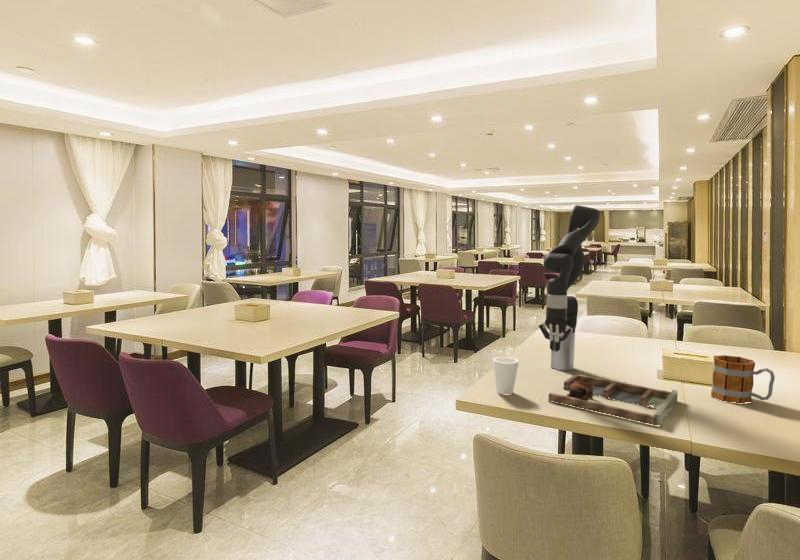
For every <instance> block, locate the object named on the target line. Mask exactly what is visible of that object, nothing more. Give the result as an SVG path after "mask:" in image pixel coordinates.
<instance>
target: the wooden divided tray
mask: <svg viewBox="0 0 800 560" xmlns="http://www.w3.org/2000/svg"><path fill="white" fill-rule="evenodd" d="M574 380H577V381H581V382H585V383H587V384H589V385H591V386H592V387H593V396H594V395H597V396H596V397H598V396H599V395H600V396H602V397H601V398H603V397H607V398H606V399H608V397H609V398H611V399H610V400H612V399H615V400H614V401H617V400H620V401H619V402H622V401H624V402H623V403H626V402H629V403H628V404H631V403H634V404H633V405H636V404H639V405H638V406H640V405H644V406H643V407H645V406H649V405H653V406H654V408H653V409H655V408H658V409H656V411H655V413H653V414H649V413H644V412H640V411H635V410H630V409H626V408H621V407H617V406H614V405H613V406H612V405H608V404H604V403H600V402H594V401H589V400H588V401H586V400H582V399H577V398H573V397H568V396H567V395H563V394H560V393H559V394H558V393H554V392H549V393H548V400H549V401H554V402H558V403H563V404H567V405H572V406H575V407H579V408H584V409H588V410H593V411H597V412H601V413H606V414H611V415H615V416H619V417H623V418H626V419H631V420H635V421H640V422H643V423H649V424H653V425H660V424H661V422H662V421H663V419H664V418H665V417H666V418H667V416H668V415H669V414H670V412H671V411H670V410H672V409H673V408H674V406H675V405H674V404H677V402H678V390H677V389H672V390H671V391H667V390H663V389H662V390H661V389H656V388H652V387H647V386H641V385H636V384H631V383H627V382H620V381H615V380H611V379H605V378H600V377H599V378H598V377H594V376H590V375H589V376H588V375H584V374H574V375H572V376H571V377H569V378H568V379H566V380H565V381H564V382H563V389H564V390H566V389H568V390H567V391H570V387H569V385H570V384H572V383H573V381H574ZM580 392H581V391H580ZM654 404H655V405H654ZM650 407H651V406H649V407H648V408H650ZM672 407H673V408H672ZM671 408H672V409H671ZM669 411H670V412H669ZM668 413H669V414H668ZM667 414H668V415H667ZM666 415H667V416H666ZM666 418H665V419H666ZM665 419H664V420H665ZM663 422H664V421H663ZM663 422H662V423H663ZM661 425H662V424H661ZM661 425H660V426H661Z"/></svg>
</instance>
